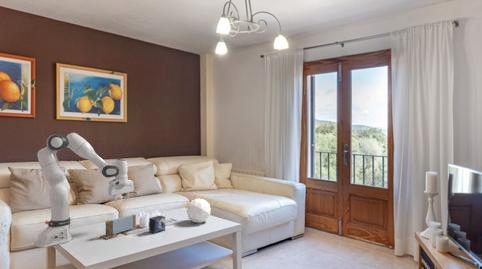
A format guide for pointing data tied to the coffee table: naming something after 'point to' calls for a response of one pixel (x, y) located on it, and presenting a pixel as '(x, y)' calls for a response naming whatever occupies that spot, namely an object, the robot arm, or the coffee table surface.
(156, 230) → the small box
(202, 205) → the geometric orb
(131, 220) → the gate
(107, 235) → the gate post
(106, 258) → the coffee table surface
